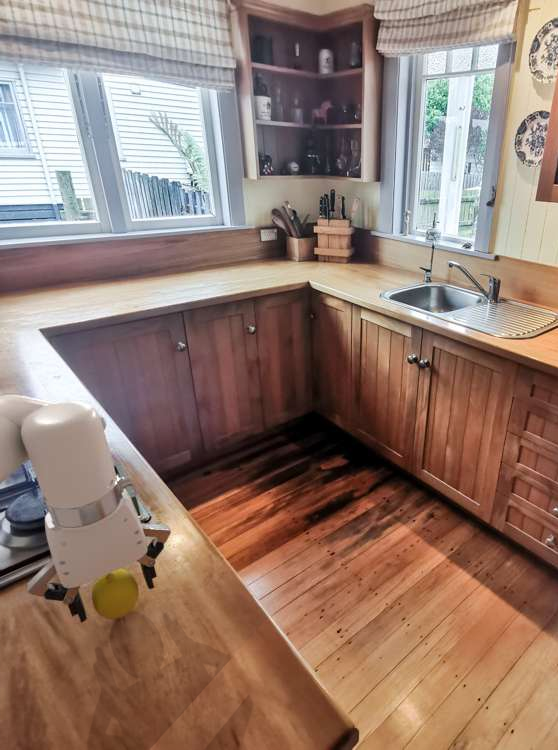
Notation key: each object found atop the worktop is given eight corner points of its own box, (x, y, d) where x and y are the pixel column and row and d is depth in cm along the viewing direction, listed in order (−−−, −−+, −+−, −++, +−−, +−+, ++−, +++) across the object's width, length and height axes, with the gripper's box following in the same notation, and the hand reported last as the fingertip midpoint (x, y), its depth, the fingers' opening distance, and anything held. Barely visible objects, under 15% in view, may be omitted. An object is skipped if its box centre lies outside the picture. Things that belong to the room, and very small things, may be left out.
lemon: (127, 590, 69) (116, 551, 66) (151, 608, 67) (141, 568, 63) (91, 618, 65) (76, 578, 61) (115, 639, 62) (101, 598, 59)
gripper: (152, 458, 64) (173, 551, 72) (-5, 511, 54) (39, 611, 62) (169, 488, 59) (189, 584, 67) (-2, 552, 49) (45, 656, 57)
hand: (116, 596), depth 64 cm, fingers open, 7 cm apart
